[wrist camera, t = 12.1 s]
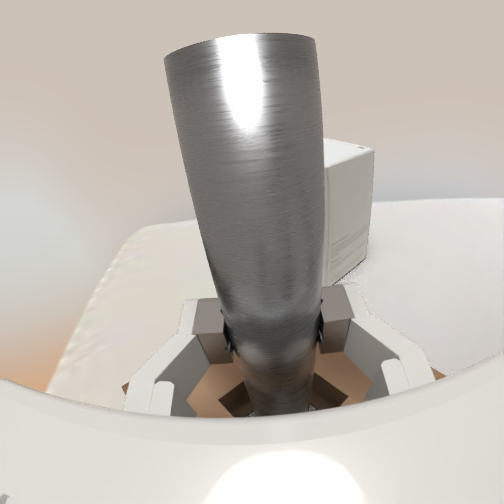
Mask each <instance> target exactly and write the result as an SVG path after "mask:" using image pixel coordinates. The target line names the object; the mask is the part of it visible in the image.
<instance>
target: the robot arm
mask: <svg viewBox="0 0 504 504" xmlns="http://www.w3.org/2000/svg"><path fill="white" fill-rule="evenodd" d="M318 346H319V350H320V354H327V353H335V352H342V351H344V352H343V353H344V354H345V355H346V356H347V357H348V358H349V359H350V360H351V361H352V362H353V363H354V364H355V365H356V366H357V367H358V368H359V369H360V370H361V371H362V372H363V373H364V374H365V375H366V376H367V377H368V378H369V379H370V380H371V381H372V384H371V386H370V388H369V390H368V391H367V393H366V395H365V397H364V399H365V401H364V402H360V403H355V404H350V405H345V406H340V407H335V408H329V409H323V410H316V411H309V412H302V413H294V414H284V415H273V416H259V417H235V418H203V417H197V413H196V412H195V411H194V410H193V408H192V407H191V406H190V405H189V403H188V402H187V401H186V400H187V398H188V397H189V395H190V394H191V393H192V391H193V390H194V388H195V387H196V386H197V384H198V383H199V381H200V380H201V379H202V377H203V376H204V374H205V373H206V371H207V370H208V369H209V367H210V365H211V364H227V363H233V358H234V349H233V345H232V342H231V339H230V336H229V333H228V329H227V326H226V323H225V319H224V316H223V313H222V309H221V306H220V302H219V299H218V298H205V299H190V300H185V302H184V304H183V308H182V313H181V317H180V322H179V326H178V331H177V335H173V336H172V337H171V338H170V339H169V340H168V341H167V342H166V343H165V344H164V345H163V346H162V347H161V348H160V349H159V350H158V351H157V352H156V353H155V354H154V355H153V356H152V357H151V358H150V359H149V360H148V361H147V362H146V363H145V364H144V365H143V366H142V367H141V368H140V369H139V370H138V371H137V372H136V373H135V374H134V375H133V376H132V377H131V378H130V382H129V386H128V390H127V394H126V398H125V402H124V406H123V410H117V409H111V408H106V407H100V406H95V405H91V404H86V403H82V402H77V401H73V400H69V399H65V398H61V397H58V396H54V395H51V394H47V393H44V392H41V391H38V390H35V389H32V388H29V387H26V386H23V385H20V384H17V383H15V382H12V381H10V380H7V379H0V504H504V350H503V351H501V352H500V353H498V354H496V355H494V356H492V357H490V358H488V359H486V360H484V361H481V362H479V363H477V364H475V365H473V366H471V367H468V368H466V369H464V370H461V371H459V372H457V373H454V374H452V375H449V376H446V377H444V378H441V379H439V380H435V377H434V375H433V372H432V370H431V367H430V365H429V362H428V360H427V358H426V355H425V353H424V351H423V349H421V348H420V347H419V346H417V345H416V344H414V343H413V342H412V341H410V340H409V339H407V338H406V337H405V336H403V335H402V334H400V333H399V332H398V331H396V330H395V329H393V328H392V327H391V326H389V325H388V324H386V323H385V322H383V321H382V320H381V319H379V318H378V317H376V316H375V315H370V314H369V311H368V309H367V306H366V304H365V302H364V299H363V297H362V294H361V292H360V290H359V287H358V285H357V283H355V282H352V283H345V284H339V285H332V286H325V287H322V293H321V307H320V320H319V331H318Z"/></svg>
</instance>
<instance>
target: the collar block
mask: <svg viewBox="0 0 504 504" xmlns="http://www.w3.org/2000/svg"><path fill="white" fill-rule="evenodd" d="M343 352H344V351H342V352H335V353H327V354H320V350H319V346H318V341H317V351H316V360H315V368H314V376H313V384H312V391H311V398H310V404H311V405H312V406H314V407H315V408H316V409H317V410H323V409H329V408H335V407H340V406H345V405H350V404H355V403H360V402H364V401H365V399H364V397H365V395H366V393H367V391H368V390H369V388H370V386H371V384H372V381H371V380H370V379H369V378H368V377H367V376H366V375H365V374H364V373H363V372H362V371H361V370H360V369H359V368H358V367H357V366H356V365H355V364H354V363H353V362H352V361H351V360H350V359H349V358H348V357H347V356H346V355H345V354H344V353H343ZM431 370H432V372H433V375H434V377H435V380H439V379H441V378H444V377H446V376H445V375H443V374H442V373H440V372H438V371H437V370H435V369H433V368H432V367H431ZM128 386H129V382H128V383H127V384H125V385H123V386H122V389H123V391H124V393H125V395H126V394H127V390H128ZM186 401H187V402H188V403H189V405H190V406H191V407H192V408H193V410H194V411H195V412H196V413H197V417H203V418H235V417H247V416H248V415H249V414H250V413H252V412H253V411H254V409H253V406H252V403H251V400H250V398H249V395H248V392H247V389H246V386H245V383H244V380H243V377H242V374H241V371H240V367H239V364H238V361H237V358H236V355H235V352H234V358H233V363H227V364H211V365H210V367H209V369H208V370H207V371H206V373H205V374H204V376H203V377H202V379H201V380H200V381H199V383H198V384H197V386H196V387H195V388H194V390H193V391H192V393H191V394H190V395H189V397H188V398H187V400H186Z"/></svg>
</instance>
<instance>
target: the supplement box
mask: <svg viewBox="0 0 504 504" xmlns="http://www.w3.org/2000/svg"><path fill="white" fill-rule="evenodd" d="M323 142H324V179H325V218H324V255H323V277H322V287H325V286H331V285H333V284H334V283H335V282H337V281H338V280H339V279H340V278H342V277H343V276H344V275H345V274H346V273H348V272H349V271H350V270H351V269H353V268H354V267H355V266H356V265H357V264H359V263H360V262H361V261H362V260H364V259H365V258H366V251H367V244H368V235H369V226H370V216H371V205H372V191H373V174H374V150H373V149H371V148H367V147H364V146H361V145H356V144H351V143H347V142H342V141H337V140H332V139H327V138H323Z"/></svg>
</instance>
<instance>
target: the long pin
mask: <svg viewBox="0 0 504 504" xmlns="http://www.w3.org/2000/svg"><path fill="white" fill-rule="evenodd" d="M164 64H165V70H166V75H167V81H168V86H169V92H170V97H171V103H172V108H173V113H174V118H175V123H176V128H177V133H178V138H179V143H180V148H181V152H182V157H183V161H184V166H185V170H186V174H187V179H188V183H189V188H190V192H191V196H192V200H193V204H194V208H195V212H196V217H197V221H198V225H199V229H200V233H201V237H202V240H203V244H204V248H205V252H206V256H207V259H208V263H209V267H210V270H211V274H212V278H213V281H214V285H215V288H216V292H217V295H218V299H219V302H220V306H221V309H222V313H223V316H224V319H225V323H226V326H227V329H228V333H229V336H230V339H231V342H232V345H233V349H234V352H235V355H236V358H237V361H238V364H239V367H240V371H241V374H242V377H243V380H244V383H245V386H246V389H247V392H248V395H249V398H250V400H251V403H252V406H253V409H254V412H255V415H256V417H259V416H273V415H284V414H294V413H302V412H309V405H310V398H311V391H312V384H313V376H314V368H315V360H316V351H317V341H318V331H319V320H320V307H321V293H322V277H323V255H324V218H325V179H324V142H323V123H322V106H321V93H320V81H319V71H318V62H317V52H316V44H315V40H314V39H313V38H311V37H307V36H303V35H297V34H288V33H287V34H286V33H254V34H244V35H235V36H228V37H222V38H217V39H213V40H208V41H203V42H200V43H196V44H193V45H190V46H187V47H184V48H181V49H179V50H176V51H175V52H172V53H170V54H169V55H167V56H166V57H165V58H164Z"/></svg>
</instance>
